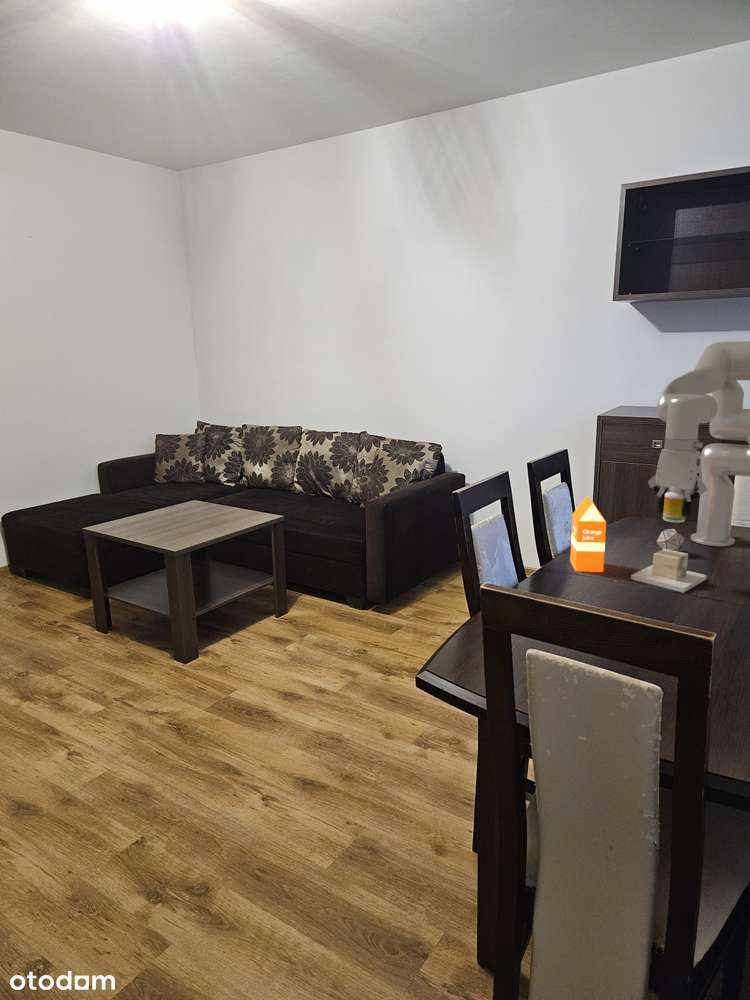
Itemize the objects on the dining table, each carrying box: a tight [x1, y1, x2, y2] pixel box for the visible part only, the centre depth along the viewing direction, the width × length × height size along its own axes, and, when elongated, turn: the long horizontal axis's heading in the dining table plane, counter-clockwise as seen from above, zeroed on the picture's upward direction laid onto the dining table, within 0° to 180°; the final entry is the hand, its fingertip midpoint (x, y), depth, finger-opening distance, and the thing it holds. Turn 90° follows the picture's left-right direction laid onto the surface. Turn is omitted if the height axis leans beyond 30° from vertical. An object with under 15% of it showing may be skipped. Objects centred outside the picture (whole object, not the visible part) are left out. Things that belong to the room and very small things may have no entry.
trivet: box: [630, 564, 708, 594], centre depth 172 cm, size 14×14×1 cm
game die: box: [653, 526, 689, 552], centre depth 194 cm, size 9×8×10 cm
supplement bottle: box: [662, 487, 686, 523], centre depth 168 cm, size 5×5×10 cm
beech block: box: [652, 549, 689, 581], centre depth 172 cm, size 6×6×6 cm
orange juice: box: [569, 495, 607, 573], centre depth 182 cm, size 8×9×20 cm
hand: (674, 512), depth 168 cm, fingers closed on supplement bottle, 5 cm apart
